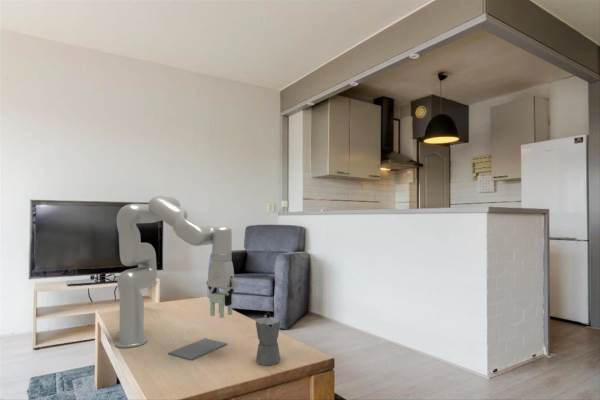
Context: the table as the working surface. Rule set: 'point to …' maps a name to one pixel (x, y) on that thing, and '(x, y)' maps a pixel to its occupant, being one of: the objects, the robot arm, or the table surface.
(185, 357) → the mat
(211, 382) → the table surface
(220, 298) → the pale green stool
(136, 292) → the robot arm
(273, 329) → the coffeepot
